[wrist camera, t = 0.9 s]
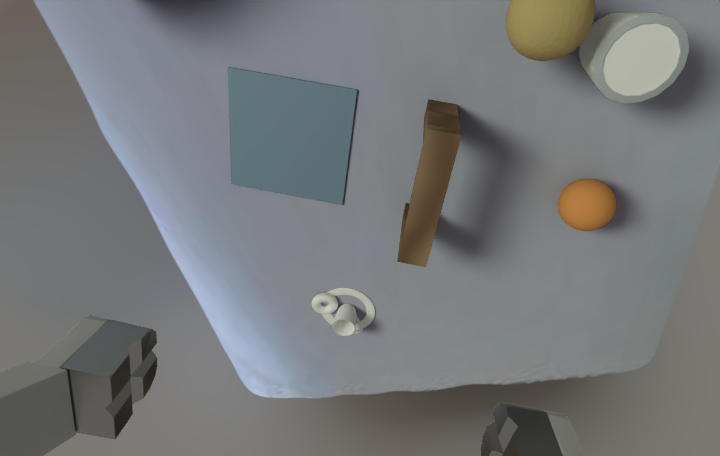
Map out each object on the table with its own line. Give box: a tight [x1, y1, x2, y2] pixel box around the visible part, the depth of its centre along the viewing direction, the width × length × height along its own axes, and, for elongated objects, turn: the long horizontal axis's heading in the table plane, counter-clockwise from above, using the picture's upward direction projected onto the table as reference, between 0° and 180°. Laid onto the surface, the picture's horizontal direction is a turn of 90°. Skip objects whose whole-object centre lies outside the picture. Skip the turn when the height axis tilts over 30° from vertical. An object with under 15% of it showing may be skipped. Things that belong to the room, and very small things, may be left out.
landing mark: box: [228, 67, 357, 205], centre depth 50 cm, size 14×14×1 cm
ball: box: [558, 179, 617, 231], centre depth 47 cm, size 6×6×6 cm
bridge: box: [397, 100, 461, 267], centre depth 46 cm, size 3×14×9 cm, turn 172°
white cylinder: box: [579, 13, 689, 103], centre depth 38 cm, size 7×7×7 cm
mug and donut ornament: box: [312, 288, 375, 336], centre depth 61 cm, size 9×8×4 cm
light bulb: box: [506, 0, 595, 61], centre depth 36 cm, size 6×6×10 cm
